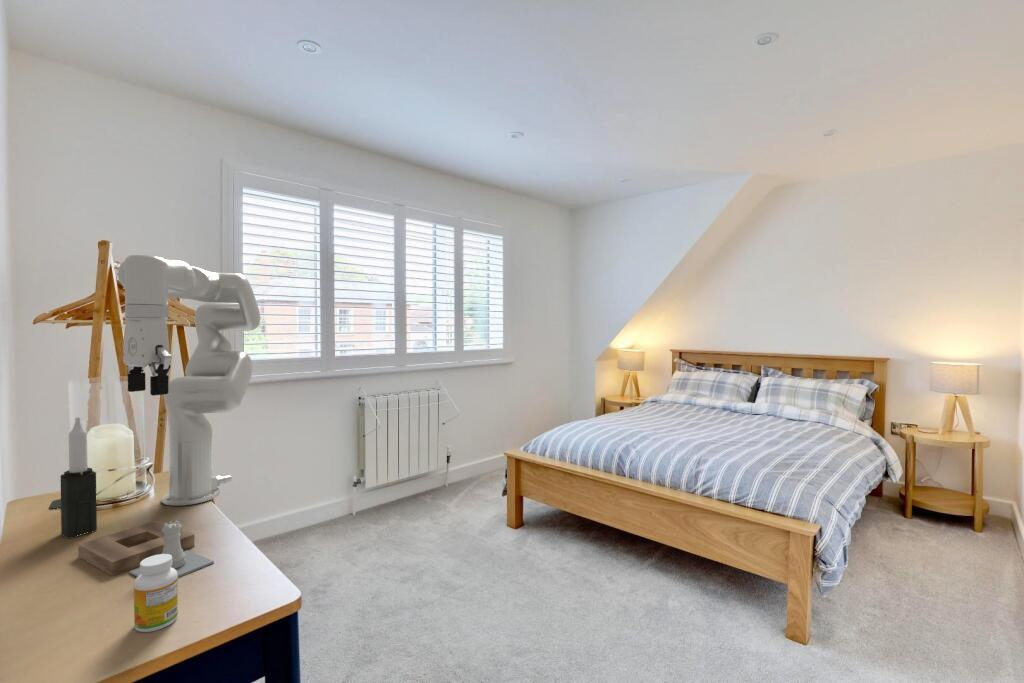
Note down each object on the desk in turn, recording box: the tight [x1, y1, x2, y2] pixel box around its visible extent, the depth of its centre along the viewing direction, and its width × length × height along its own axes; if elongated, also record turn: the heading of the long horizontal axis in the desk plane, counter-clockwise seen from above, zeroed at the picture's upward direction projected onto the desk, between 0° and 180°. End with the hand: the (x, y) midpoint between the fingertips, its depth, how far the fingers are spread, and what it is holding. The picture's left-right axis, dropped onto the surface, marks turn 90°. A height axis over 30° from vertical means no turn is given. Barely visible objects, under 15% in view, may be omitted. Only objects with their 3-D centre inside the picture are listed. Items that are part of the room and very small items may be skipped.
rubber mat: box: [128, 549, 215, 578], centre depth 92 cm, size 10×9×1 cm
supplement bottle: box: [133, 554, 179, 633], centre depth 75 cm, size 5×5×10 cm
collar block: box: [77, 520, 195, 577], centre depth 99 cm, size 14×14×2 cm
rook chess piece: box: [161, 520, 186, 569], centre depth 92 cm, size 4×4×8 cm
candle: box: [59, 417, 98, 539], centre depth 107 cm, size 5×5×25 cm
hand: (147, 392), depth 107 cm, fingers open, 9 cm apart
